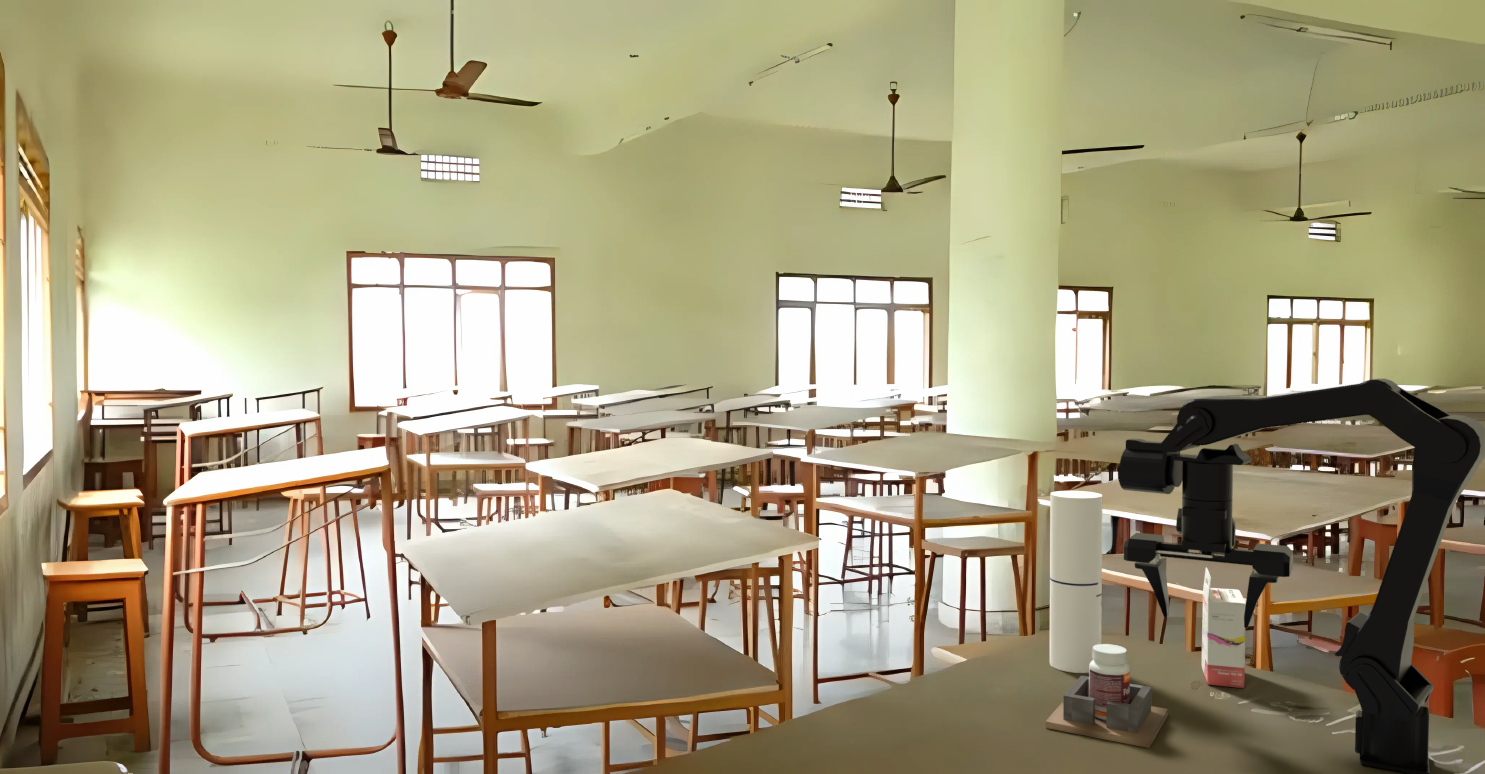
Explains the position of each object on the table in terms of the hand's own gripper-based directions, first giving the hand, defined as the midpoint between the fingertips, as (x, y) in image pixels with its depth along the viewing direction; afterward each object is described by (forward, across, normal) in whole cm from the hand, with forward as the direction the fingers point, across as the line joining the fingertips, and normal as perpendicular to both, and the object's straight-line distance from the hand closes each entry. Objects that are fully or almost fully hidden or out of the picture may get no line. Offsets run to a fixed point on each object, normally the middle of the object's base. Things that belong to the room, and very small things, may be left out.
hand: (1205, 621), depth 127 cm
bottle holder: (+12, +10, +8) cm, 18 cm away
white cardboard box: (+12, 0, -17) cm, 21 cm away
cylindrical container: (+12, +19, -12) cm, 26 cm away
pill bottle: (+11, +10, +8) cm, 17 cm away
